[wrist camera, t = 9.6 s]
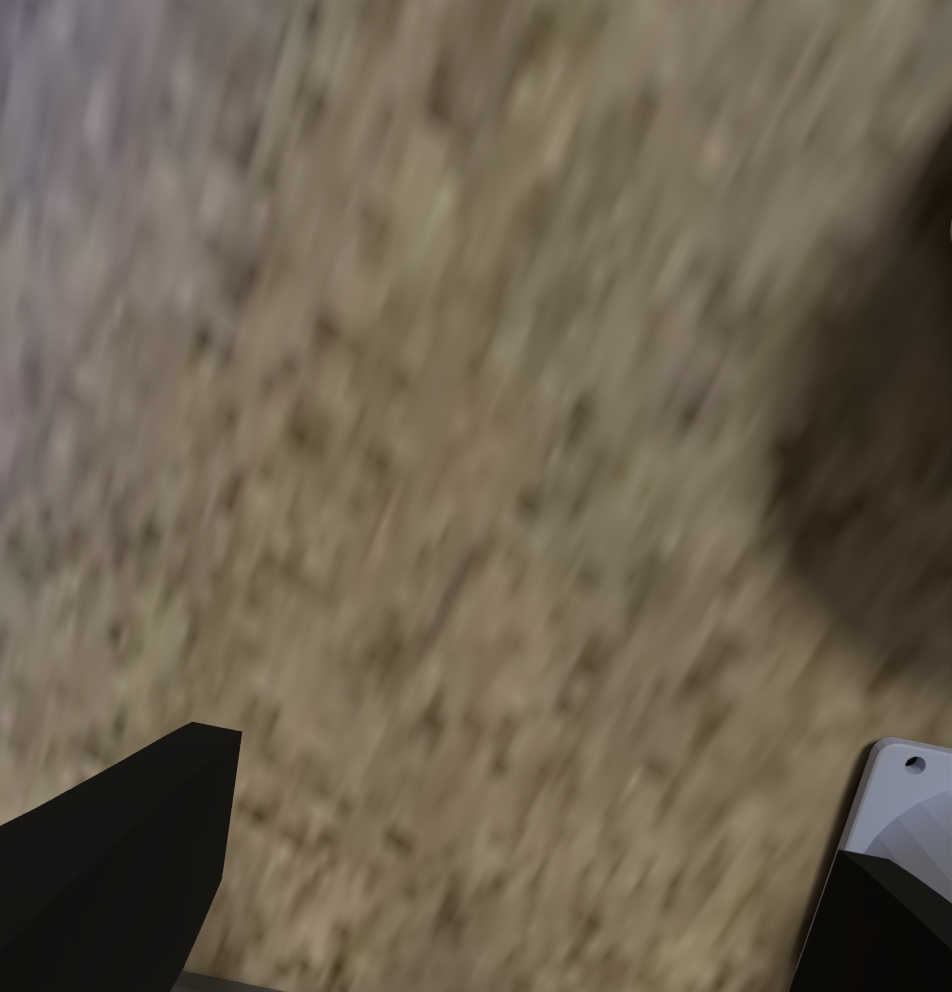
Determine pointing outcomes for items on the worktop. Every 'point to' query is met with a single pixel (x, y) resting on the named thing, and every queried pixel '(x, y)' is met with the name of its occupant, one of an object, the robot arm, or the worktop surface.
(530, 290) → the worktop surface
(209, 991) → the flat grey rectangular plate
